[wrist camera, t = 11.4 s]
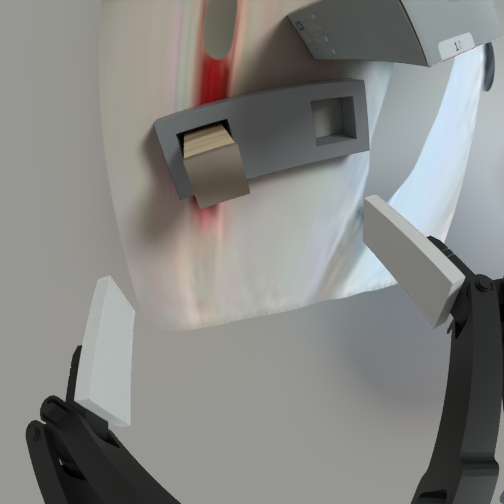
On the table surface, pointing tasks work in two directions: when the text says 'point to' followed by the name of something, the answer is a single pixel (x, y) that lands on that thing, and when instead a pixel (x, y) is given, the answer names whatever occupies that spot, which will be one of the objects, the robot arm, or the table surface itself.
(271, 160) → the socket strip
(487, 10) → the hard drive box
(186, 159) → the plug
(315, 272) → the table surface
